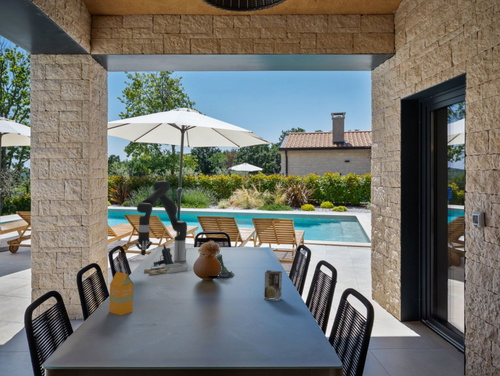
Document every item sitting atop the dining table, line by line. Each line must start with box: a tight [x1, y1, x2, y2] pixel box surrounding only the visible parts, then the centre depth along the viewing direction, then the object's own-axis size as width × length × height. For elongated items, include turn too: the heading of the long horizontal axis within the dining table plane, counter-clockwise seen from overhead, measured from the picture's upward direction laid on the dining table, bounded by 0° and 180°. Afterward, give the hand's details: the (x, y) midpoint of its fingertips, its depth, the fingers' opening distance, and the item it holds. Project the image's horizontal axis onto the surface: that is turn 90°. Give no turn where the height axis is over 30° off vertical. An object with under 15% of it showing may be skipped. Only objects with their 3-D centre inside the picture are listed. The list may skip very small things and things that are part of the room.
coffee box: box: [263, 269, 283, 302], centre depth 221 cm, size 9×6×16 cm
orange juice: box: [108, 271, 134, 316], centre depth 192 cm, size 8×9×20 cm
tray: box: [160, 262, 188, 274], centre depth 284 cm, size 16×13×3 cm
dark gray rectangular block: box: [150, 266, 159, 271], centre depth 274 cm, size 4×4×4 cm
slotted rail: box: [143, 267, 169, 276], centre depth 274 cm, size 14×9×2 cm, turn 130°
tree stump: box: [216, 253, 235, 279], centre depth 271 cm, size 18×20×18 cm
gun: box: [153, 243, 175, 267], centre depth 297 cm, size 3×17×15 cm
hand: (143, 255), depth 268 cm, fingers closed
